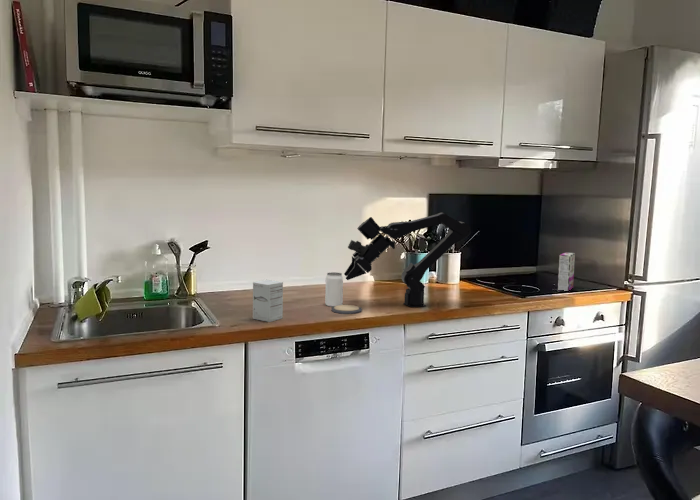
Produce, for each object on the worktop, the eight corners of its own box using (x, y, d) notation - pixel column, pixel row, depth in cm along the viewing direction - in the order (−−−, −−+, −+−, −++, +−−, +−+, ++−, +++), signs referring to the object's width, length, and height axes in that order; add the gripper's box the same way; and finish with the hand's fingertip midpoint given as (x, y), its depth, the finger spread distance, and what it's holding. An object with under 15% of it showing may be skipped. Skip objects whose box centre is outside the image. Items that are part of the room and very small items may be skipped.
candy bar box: (561, 287, 261) (564, 252, 259) (573, 288, 258) (575, 253, 256) (556, 291, 252) (558, 254, 250) (568, 292, 249) (570, 255, 247)
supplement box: (251, 319, 190) (251, 281, 189) (266, 315, 196) (267, 279, 195) (268, 322, 186) (268, 284, 185) (283, 318, 192) (283, 281, 191)
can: (333, 302, 219) (333, 271, 218) (346, 305, 215) (346, 273, 214) (321, 305, 214) (322, 273, 213) (334, 307, 210) (335, 275, 209)
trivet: (354, 306, 213) (354, 303, 213) (366, 312, 203) (366, 309, 203) (327, 308, 209) (327, 305, 209) (338, 315, 199) (338, 311, 198)
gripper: (358, 230, 221) (329, 258, 222) (363, 235, 203) (331, 265, 203) (378, 251, 223) (349, 278, 223) (384, 257, 204) (353, 287, 205)
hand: (345, 277), depth 214 cm, fingers open, 9 cm apart
